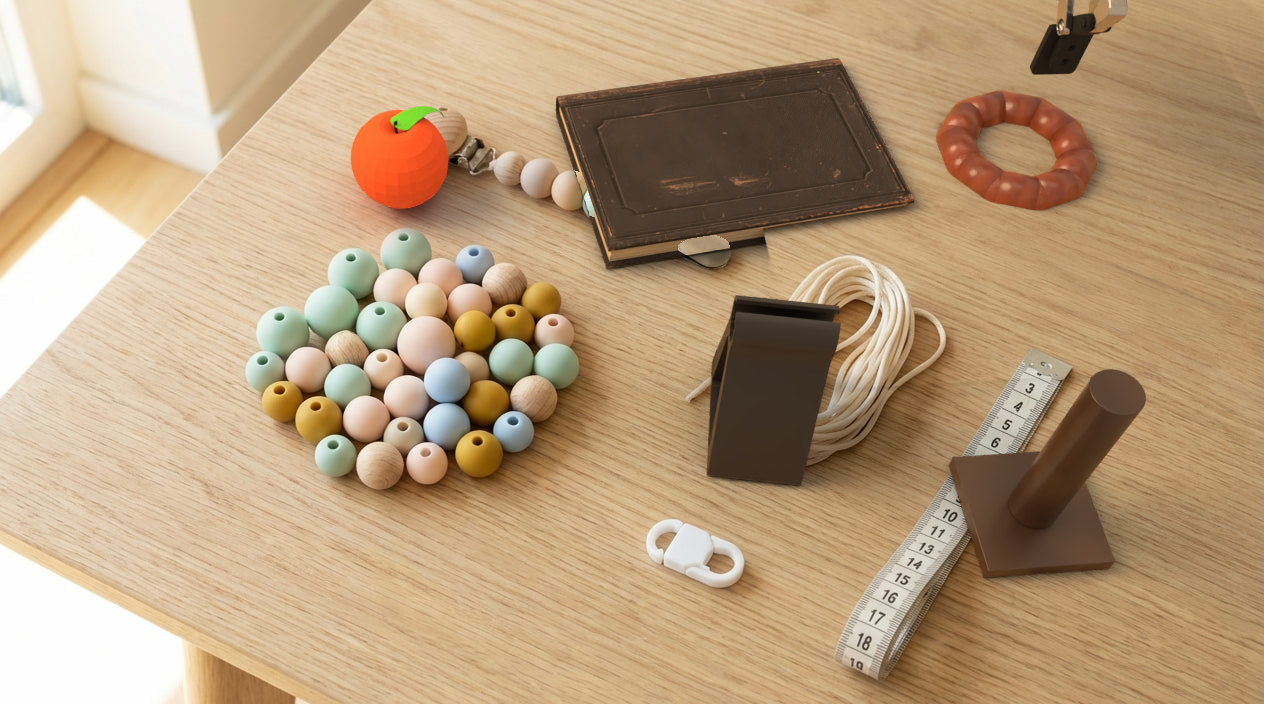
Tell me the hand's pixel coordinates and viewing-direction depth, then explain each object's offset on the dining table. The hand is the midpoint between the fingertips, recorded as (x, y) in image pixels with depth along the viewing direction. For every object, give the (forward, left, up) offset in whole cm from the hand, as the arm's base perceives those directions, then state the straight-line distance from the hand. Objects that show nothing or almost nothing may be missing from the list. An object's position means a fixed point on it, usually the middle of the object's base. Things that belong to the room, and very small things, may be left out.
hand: (1029, 25), depth 89 cm
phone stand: (+24, +27, -10) cm, 37 cm away
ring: (0, +5, -8) cm, 9 cm away
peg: (+8, +35, -10) cm, 37 cm away
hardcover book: (+22, +4, -10) cm, 24 cm away
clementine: (+46, +5, -10) cm, 47 cm away
